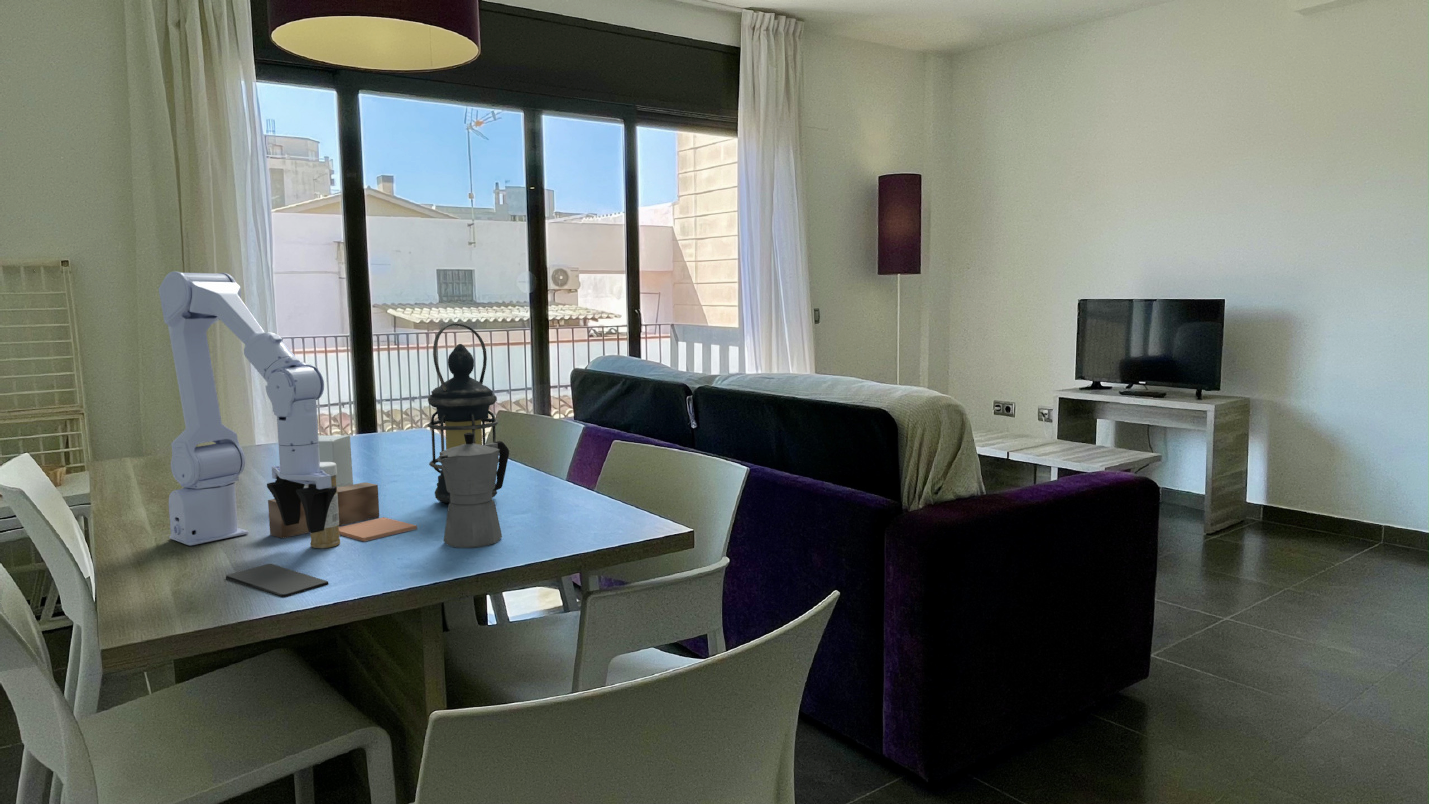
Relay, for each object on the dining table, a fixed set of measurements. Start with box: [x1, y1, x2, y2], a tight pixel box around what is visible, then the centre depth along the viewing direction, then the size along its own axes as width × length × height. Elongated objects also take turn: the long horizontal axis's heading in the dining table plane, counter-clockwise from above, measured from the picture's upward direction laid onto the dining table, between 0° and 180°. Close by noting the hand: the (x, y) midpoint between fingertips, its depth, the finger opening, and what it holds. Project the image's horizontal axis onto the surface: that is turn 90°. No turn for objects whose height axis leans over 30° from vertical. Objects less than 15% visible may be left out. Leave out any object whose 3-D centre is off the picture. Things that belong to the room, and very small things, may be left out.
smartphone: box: [225, 563, 329, 598], centre depth 125 cm, size 7×1×15 cm
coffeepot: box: [436, 432, 510, 549], centre depth 146 cm, size 15×9×18 cm, turn 150°
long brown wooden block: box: [267, 482, 380, 539], centre depth 156 cm, size 18×4×6 cm, turn 143°
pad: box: [339, 516, 418, 542], centre depth 153 cm, size 10×10×1 cm
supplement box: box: [304, 434, 354, 488], centre depth 176 cm, size 7×7×13 cm
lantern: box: [427, 322, 499, 504], centre depth 172 cm, size 14×13×35 cm
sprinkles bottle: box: [308, 462, 341, 549], centre depth 143 cm, size 5×5×13 cm
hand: (303, 527), depth 140 cm, fingers open, 7 cm apart
